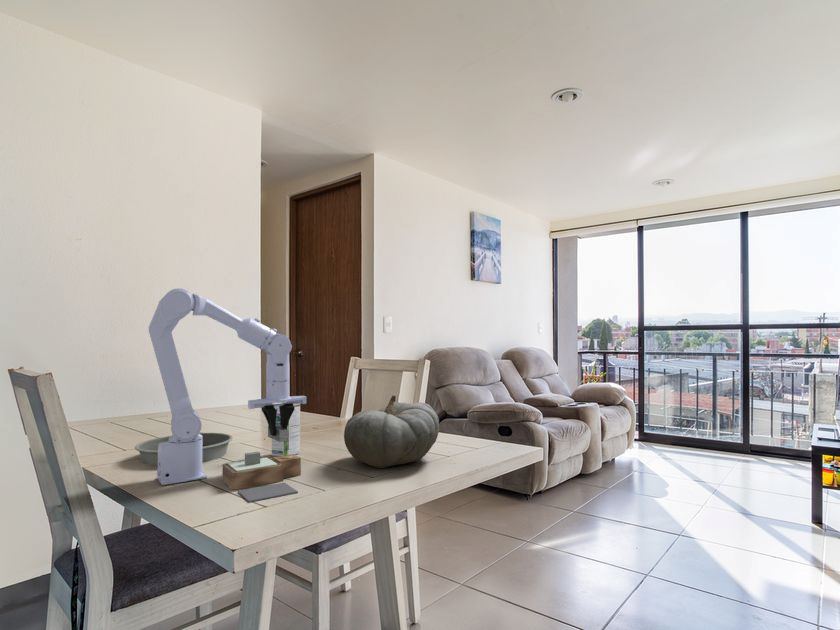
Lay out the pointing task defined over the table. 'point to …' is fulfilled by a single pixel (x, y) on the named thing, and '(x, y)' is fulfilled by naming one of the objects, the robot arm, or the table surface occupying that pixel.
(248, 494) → the mat
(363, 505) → the table surface
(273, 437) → the gray rectangular bar
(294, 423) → the syrup box
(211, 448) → the cake pan
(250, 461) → the cover
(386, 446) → the gourd
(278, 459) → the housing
